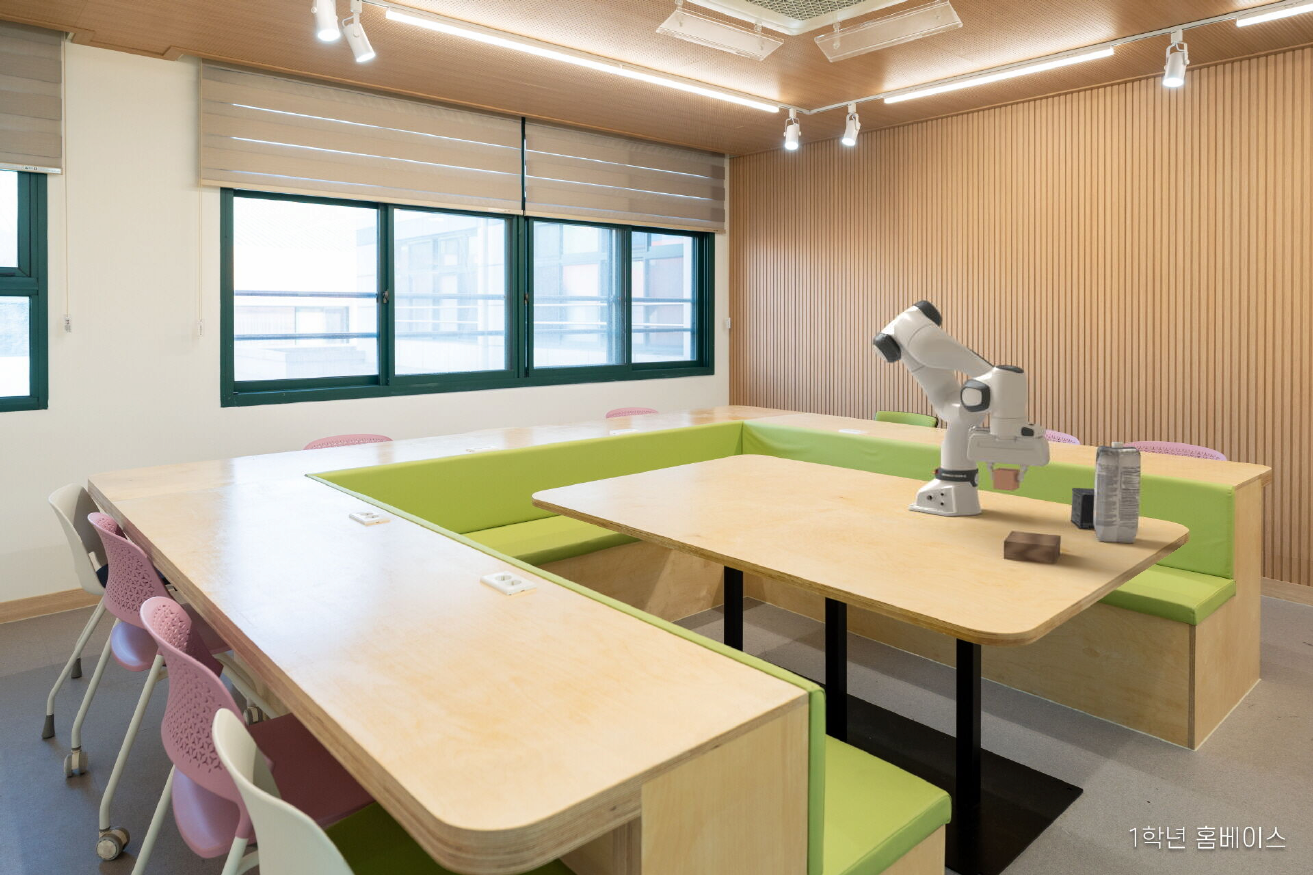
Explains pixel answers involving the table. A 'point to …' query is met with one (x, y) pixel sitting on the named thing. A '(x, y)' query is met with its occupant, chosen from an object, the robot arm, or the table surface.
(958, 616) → the table surface
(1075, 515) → the small box
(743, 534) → the table surface
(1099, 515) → the juice carton
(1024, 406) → the robot arm
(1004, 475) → the terracotta cube
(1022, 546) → the walnut block
